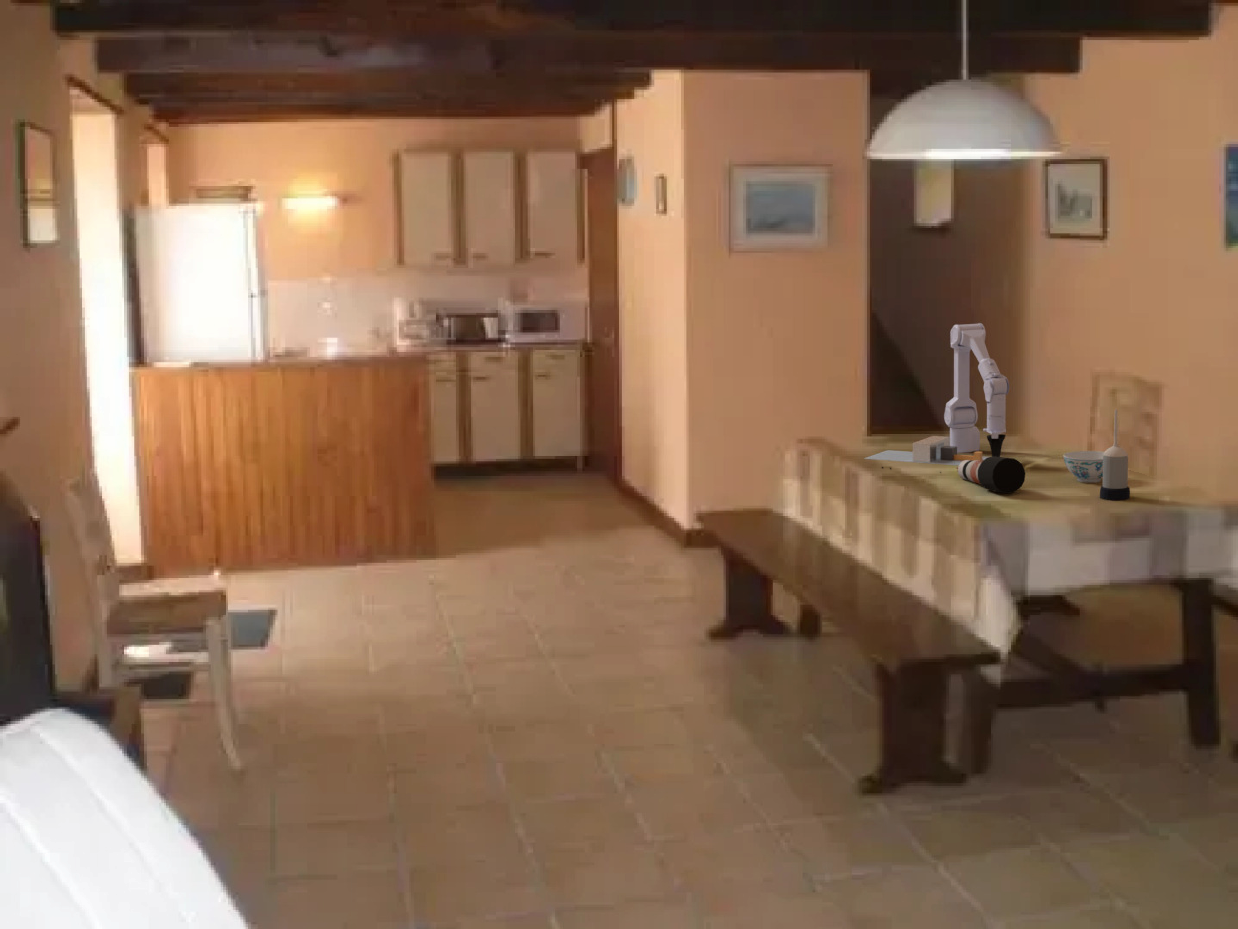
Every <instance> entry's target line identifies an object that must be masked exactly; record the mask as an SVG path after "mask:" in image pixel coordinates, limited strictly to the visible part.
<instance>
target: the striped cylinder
mask: <svg viewBox="0 0 1238 929" xmlns="http://www.w3.org/2000/svg"><path fill="white" fill-rule="evenodd" d="M987 457H988V458H986V459H985V460H982V461H981V460H965V461H963V462H961V463H960V465H957V467H956V472H957V473H958V476H959V477H960V478H961V479H962V480H965V481H970V482H974V483H977V484H980V485H981V486H982V488H984V489H985V490H988V491H991V492H997V493H1005V494H1013V493H1015V492H1017V491H1019V489H1021V487H1022V486H1023V484H1024V483H1025V479H1026V470H1025V467H1024V465H1023V464H1022V463H1021V462H1020V461H1019V460H1018V459H1016V458H1013V457H1004V456H1002V457H1001V456H1000V457H996V456H992V455H991V456H987Z"/></svg>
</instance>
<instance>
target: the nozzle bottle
mask: <svg viewBox="0 0 1238 929" xmlns="http://www.w3.org/2000/svg"><path fill="white" fill-rule="evenodd" d="M1113 424H1114V429H1113V430H1114V431H1113V445H1112V446H1110V447H1109V448H1107V449H1106V450H1105V451H1103V452H1104V454H1103V455H1104V456H1103V477H1102V485H1101V487H1100V488H1099V498H1100V499H1101V500H1104V501H1115V502H1116V501H1127V500H1130V498H1131V488H1130V487H1129V486H1128V482H1129V480H1128V479H1129V478H1128V476H1129V471H1128V470H1129V456H1128V455H1129V454H1128V453H1127V451H1126V450H1125V449H1124V447H1121V446H1119V445H1120V444H1119V442H1120V434H1118V432H1119V429H1120V422H1118V409H1114V421H1113Z"/></svg>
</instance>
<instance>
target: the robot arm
mask: <svg viewBox="0 0 1238 929" xmlns="http://www.w3.org/2000/svg"><path fill="white" fill-rule="evenodd" d="M986 336H987V333H986V327H985V326H984V324H983V323H981V322H978V323H970V324H969V323H968V324H967V323H966V324H954V325H953V326H952V328H951V329H950V348H952V349H953V398H951V399H949V401H947V402H946V404H945V408H944V414H943V418H944V422H945V424H946V425H947V427H948V428H949V437H950V446H956V447H957V454H959V453H961V454H962V453H964V454H965V453H971V452H976V451H979V452H980V450H981V447H980V446H981V445H980V444H981V442H980V440H981V439H980V437H981V435H980V430H979V428H978V427H977V426H976V424H977V421H978V419H979V418H978V416H979V414H978V410H977V409H978V408H977V403H976V402H975V401H974V400H973V399H971V398H970V377H971V376H970V375H971V374H970V370H971V369H970V365H971V363H970V357H971V355H970V352H971V350H972V353H973V354H974V356H975V357H976V358H975V359H977V361H978V363H979V364H978V366H977V370H978V371H979V373H980V376H981V378H982V380H983V383H984V384H983V392H984V397H985V398H984V399H985V401H986V428H983V430H982V431H983V432H987V433H988V435H986V439H987V441H988V443H989V446H990V453H991V457H992V456H996V457H1001V454H1002V453H1001V452H1002V448H1003V447H1002V446H1003V442H1004V441H1005V439H1006V435H1007V434H1005V433H1006V432H1007V429H1006V422H1007V421H1006V419H1007V418H1006V411H1007V410H1006V409H1007V408H1006V407H1007V406H1006V404H1007V403H1006V400H1007V399H1006V397H1007V395H1008V394H1009V391H1010V382H1009V379H1008V378H1007V377H1006V376H1005V375H1004V374H1002V373H1001V372H1000V369H999V367H998V365H997V363H996V361H995V360H994V359H993V358H991V357H990V355H989V352H988V349H987V346H986V342H985V341H986Z"/></svg>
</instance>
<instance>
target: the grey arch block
mask: <svg viewBox="0 0 1238 929" xmlns="http://www.w3.org/2000/svg"><path fill="white" fill-rule="evenodd" d="M944 446H950V436H943V435H942V436H941V435H931V436H929V437H927V438H924V439H921V440H918V441H915V442H912V452H913V461H914V462H913V463H917V462H928V463H927V464H931V463H930V462H933V461H936V457H941V447H944Z"/></svg>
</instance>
